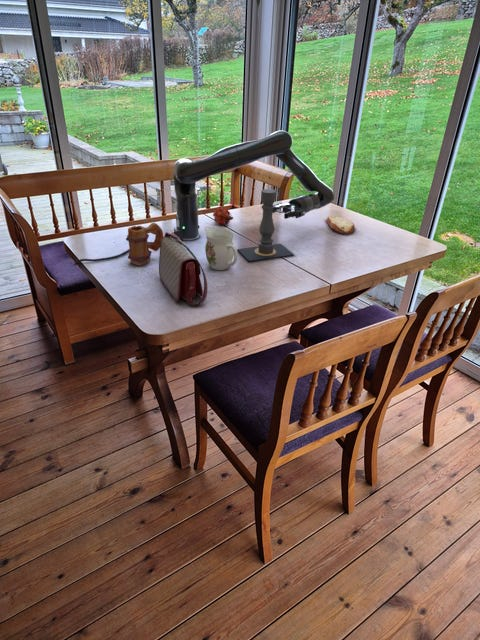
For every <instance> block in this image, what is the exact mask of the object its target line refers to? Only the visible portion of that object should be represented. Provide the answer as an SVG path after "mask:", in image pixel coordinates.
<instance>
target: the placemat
mask: <svg viewBox="0 0 480 640" xmlns="http://www.w3.org/2000/svg"><path fill="white" fill-rule="evenodd" d="M273 244H274V246H273V253H271V254H262V253H259V251H258V249H259V246H252V247H243V248H236V249H237V253H238V254H240V255H241V256H242V257H243V258H244V259H245V260H246V261H247V262H248V263H253V262H260V261H267V260H274V259H281V258H282V259H283V258H289V257H294V256H295V254H294V253H293V252H292V251H290V250H289V249H288V248H287V247H285V246H284V245H283V244H281V243H273Z"/></svg>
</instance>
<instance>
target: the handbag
mask: <svg viewBox="0 0 480 640" xmlns="http://www.w3.org/2000/svg"><path fill="white" fill-rule="evenodd" d="M173 232H174V231H166V232H165V234H164V235H163V237H162V238H161V243H160V248H159V257H158V258H159V259H158V275H159V279H160V281H161V283H162V284H163V285H164V287H165V288H166V289H167V291H168V292H169V294H170V295H171V296H172V298H173V300H174V301H175V302H179V300H180V298H182V299H183V300H186V302H187V303H188V304H189V305H190V306H200V305H202V304H203V303H204V302H205V300H206V299H207V296H208V281H207V276H206V273H205V271H204V268H203V267H202V265H201V263H200V261H199V259H198V258H197V257H196V255H195V254H194V253H193V252H192V250H191V249H190V248H189V247H188V246H187V245H186V244H185V243H184V242H183V240H180V238H179V237H178V236H176V235H175V234H174V233H173ZM201 272H202V277H203V285H202V281H201V276H200V275H201ZM196 294H197V295H198V296H199V297H200V298H201V299H200V300H199V301H198V302H197V303H196V302H194V301H193V300H192V299H195V298H196Z"/></svg>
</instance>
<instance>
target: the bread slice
mask: <svg viewBox="0 0 480 640" xmlns="http://www.w3.org/2000/svg"><path fill="white" fill-rule="evenodd" d="M326 223H327V224H328V226H329V227H330V228H331V229H332V230H333V231H335V232H336V233H338V234H340V235H341V234H342V235H344V236H345V235H351V234H353V232H354V231H355V230H356V228H355V223H354V222H352V220H348V219H346V218H345V217H340V216H334V215H328V216H327V217H326Z"/></svg>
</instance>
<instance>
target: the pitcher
mask: <svg viewBox="0 0 480 640" xmlns="http://www.w3.org/2000/svg"><path fill="white" fill-rule="evenodd" d="M204 229H205V231H206V232H205V238H206V242H205V249H204V252H205V257H206V260H207V263H208V265H209V267H211V269H213V270H216V271H225V270H227V269H229V267H233V266H235V265H236V264H237V263H238V257H239V252H238V251H237V249H238V248H236V245H234V241H233V239H234V233H233V232H232V231H231V230H227V229H225V228H216V227H211V226H206V227H204Z"/></svg>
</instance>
